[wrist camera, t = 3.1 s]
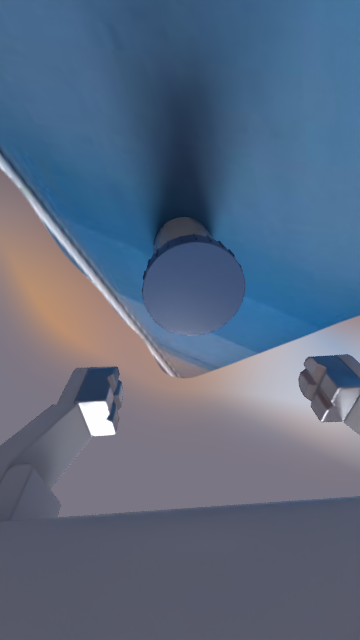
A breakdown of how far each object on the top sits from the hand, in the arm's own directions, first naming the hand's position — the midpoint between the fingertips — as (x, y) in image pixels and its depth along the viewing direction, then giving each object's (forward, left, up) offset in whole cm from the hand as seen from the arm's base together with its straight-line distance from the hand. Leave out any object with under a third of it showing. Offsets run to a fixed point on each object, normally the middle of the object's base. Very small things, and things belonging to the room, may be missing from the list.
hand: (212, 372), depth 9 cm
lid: (0, 0, -7) cm, 7 cm away
